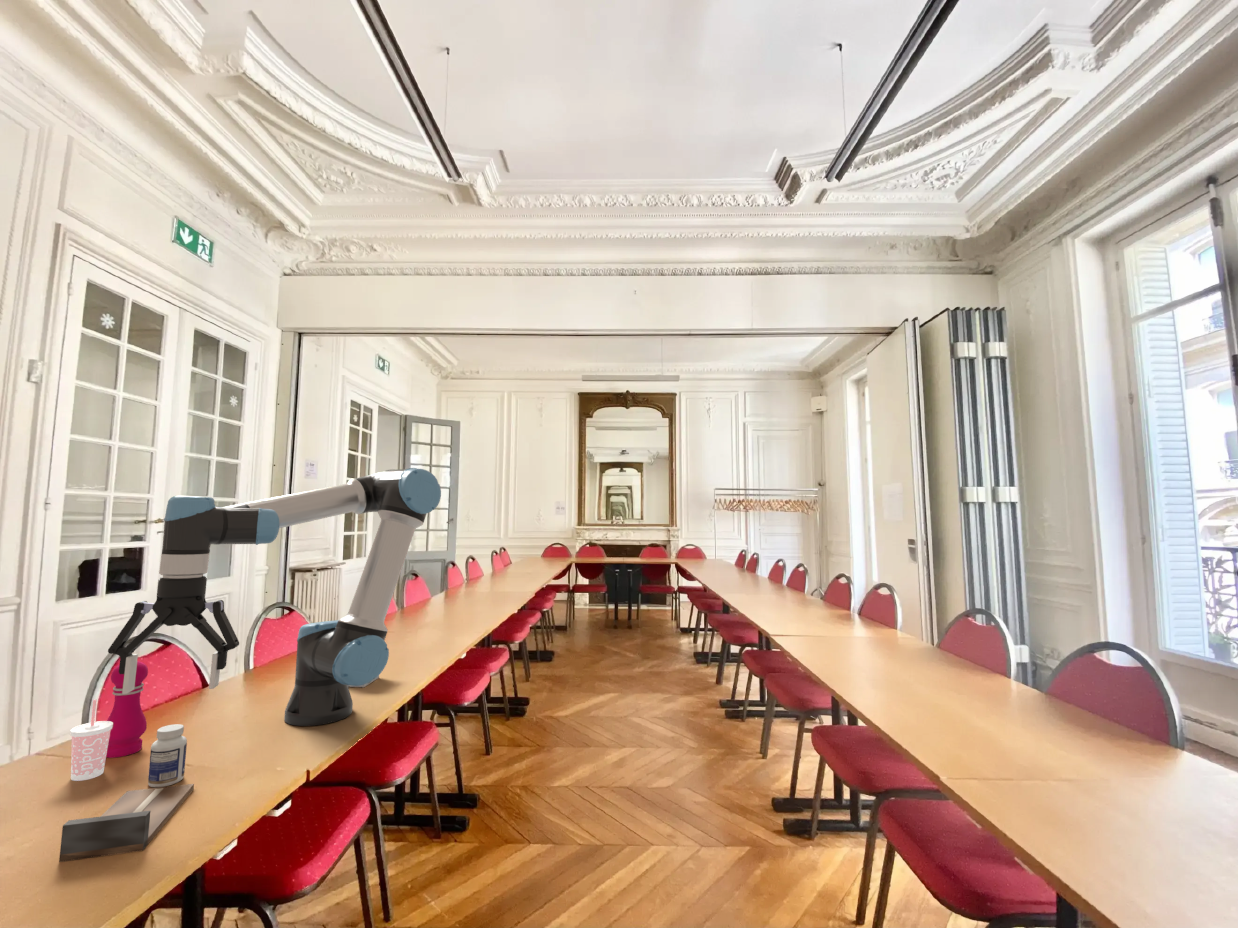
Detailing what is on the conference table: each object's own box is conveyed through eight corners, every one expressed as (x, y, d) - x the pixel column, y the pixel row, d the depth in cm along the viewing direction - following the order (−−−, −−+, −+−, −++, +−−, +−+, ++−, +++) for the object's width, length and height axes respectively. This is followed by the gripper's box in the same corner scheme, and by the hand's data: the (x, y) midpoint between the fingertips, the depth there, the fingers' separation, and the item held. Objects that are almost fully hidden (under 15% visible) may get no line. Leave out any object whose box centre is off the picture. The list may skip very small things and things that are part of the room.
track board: (193, 789, 105) (195, 760, 105) (142, 850, 86) (146, 815, 86) (126, 796, 102) (129, 767, 102) (59, 862, 83) (62, 825, 83)
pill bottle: (163, 774, 110) (168, 722, 111) (190, 775, 110) (195, 723, 111) (139, 787, 105) (144, 732, 106) (168, 788, 105) (172, 733, 106)
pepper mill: (118, 760, 116) (127, 659, 118) (89, 757, 117) (99, 656, 119) (153, 746, 123) (162, 651, 125) (126, 743, 124) (135, 649, 126)
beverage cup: (58, 785, 106) (66, 706, 107) (74, 771, 111) (81, 696, 112) (100, 779, 108) (108, 702, 109) (114, 766, 114) (121, 693, 115)
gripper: (262, 573, 119) (252, 679, 116) (114, 574, 111) (101, 687, 108) (252, 577, 111) (241, 690, 109) (93, 578, 104) (78, 699, 101)
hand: (171, 689), depth 109 cm, fingers open, 13 cm apart
